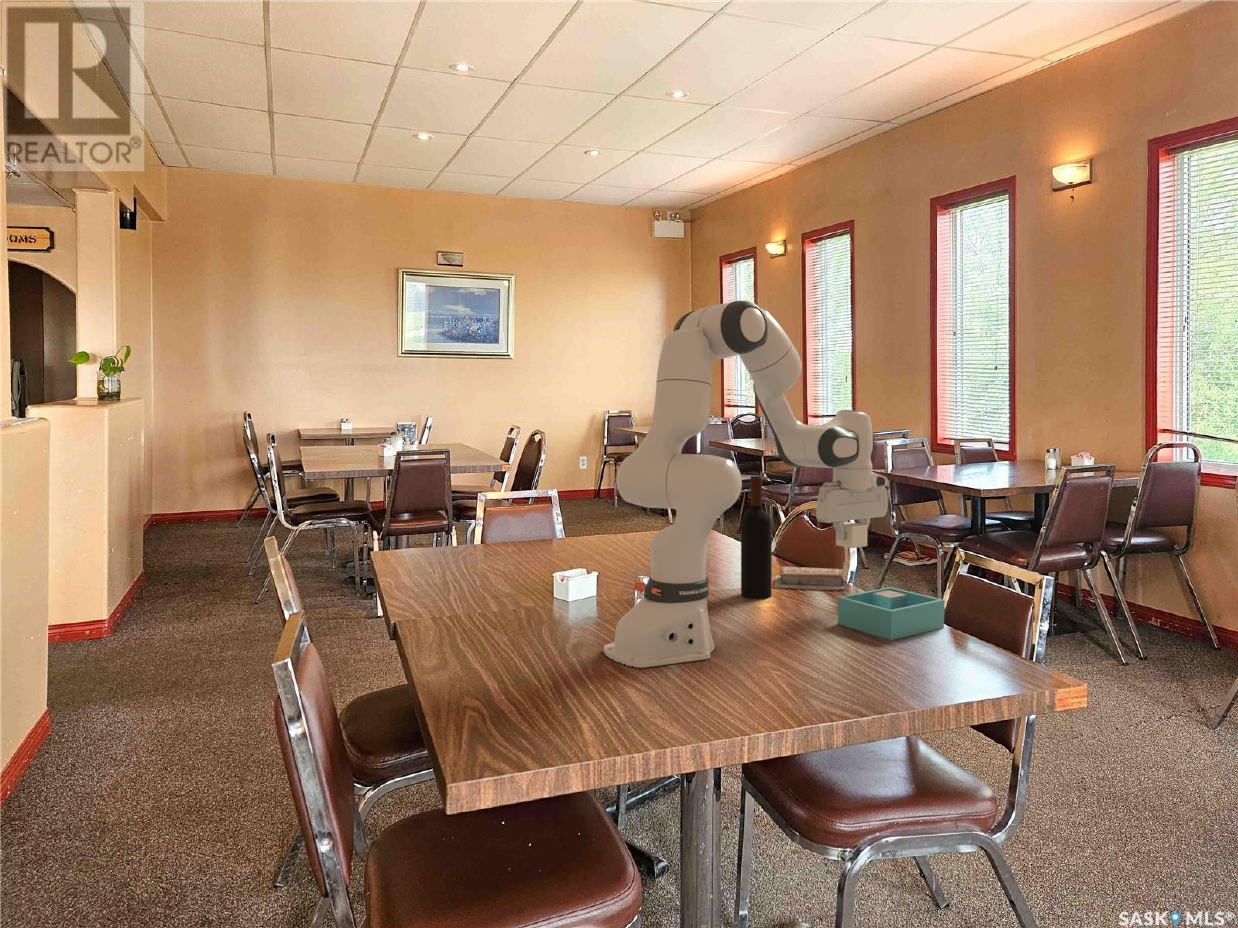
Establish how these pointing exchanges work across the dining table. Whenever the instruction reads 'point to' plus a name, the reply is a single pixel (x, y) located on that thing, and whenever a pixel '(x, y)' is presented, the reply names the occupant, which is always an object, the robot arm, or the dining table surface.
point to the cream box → (854, 535)
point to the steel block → (889, 600)
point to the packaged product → (810, 578)
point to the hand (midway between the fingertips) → (851, 538)
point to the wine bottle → (756, 547)
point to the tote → (891, 614)
